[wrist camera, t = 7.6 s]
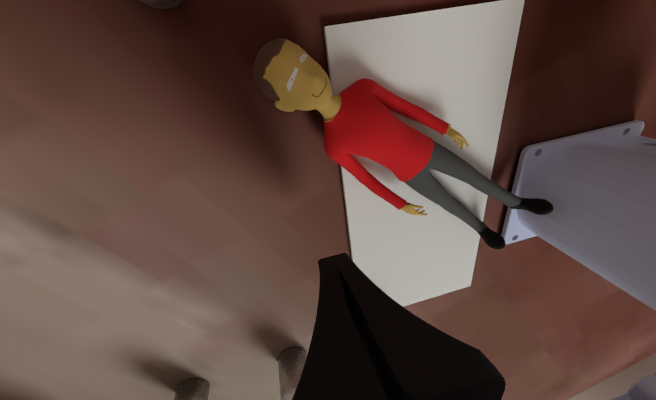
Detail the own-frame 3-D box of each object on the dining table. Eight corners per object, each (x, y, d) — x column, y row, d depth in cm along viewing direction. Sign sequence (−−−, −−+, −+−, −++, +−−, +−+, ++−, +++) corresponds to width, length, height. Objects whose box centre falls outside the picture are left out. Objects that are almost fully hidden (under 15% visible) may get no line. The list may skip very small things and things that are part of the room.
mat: (520, -2, 13) (525, -4, 13) (468, 283, 23) (470, 285, 23) (323, 27, 12) (324, 26, 11) (358, 316, 22) (360, 319, 21)
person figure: (521, 272, 16) (231, 105, 8) (465, 248, 19) (226, 116, 12) (560, 196, 16) (307, -47, 8) (496, 186, 19) (278, 11, 12)
